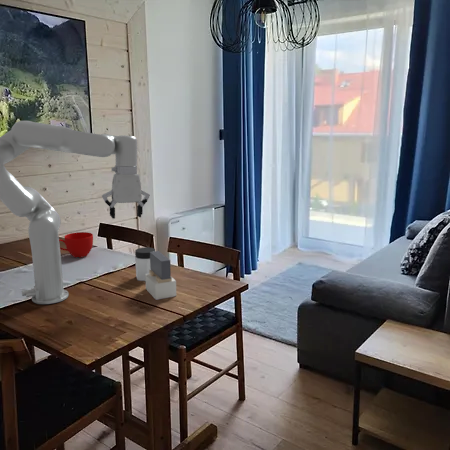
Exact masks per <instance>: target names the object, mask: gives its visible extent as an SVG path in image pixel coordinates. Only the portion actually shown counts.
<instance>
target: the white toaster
mask: <svg viewBox="0 0 450 450" xmlns="http://www.w3.org/2000/svg"><path fill="white" fill-rule="evenodd" d="M145 280H146V281H145V290H147V292H148V293H149V294H150V295H151V296H152V297H153V299H155V301H156V300H157V301H158V300H162V299H169V298H172V297H177V280H176V279H175V278H174V277H173V276H171V278H170V279H164V280H161V279H160V278H159V277H158V276H157V275H156V274H155V273H154V272H153V271H152V270H149V274H145Z"/></svg>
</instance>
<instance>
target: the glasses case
mask: <svg viewBox="0 0 450 450" xmlns="http://www.w3.org/2000/svg"><path fill="white" fill-rule="evenodd" d="M150 268H151V270H152V271H153V272H154V273H155V274H156V275H157V276H158V277H159V278H160V279H161V280H164V279H170V278H171V277H172V276H171V273H172V272H171V259H170V258H168V257H167V256H166V255H164V254H163V253H162V252H161V251H160V250H155V251H154V252H150Z"/></svg>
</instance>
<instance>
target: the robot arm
mask: <svg viewBox="0 0 450 450" xmlns="http://www.w3.org/2000/svg"><path fill="white" fill-rule="evenodd" d="M31 148H35V149H42V150H50V151H54V152H55V151H56V152H63V153H69V154H70V153H71V154H77V155H82V156H83V155H84V156H90V157H91V156H92V157H98V158H107V157H110V156H111V155H115V165H114V166H112V167H111V172H114V174H113V177H112V181H111V182H112V183H111V190H109V191H107V192H105V193H103V194H102V195H101V197H102V199H103V201H104V203H105V204H106V205H107V206H108V207H109V216H110V217H111V219H112V220H114V219H116V208H115V206H116V205H117V204H124V203H125V204H129V203H130V204H131V203H137V205H136V216H137V217H138V218H142V216H143V214H144V213H143V207H144V206H145V204H146V203H147V202H148V200H149V199H150V194H149V193H148V192H145V191H144V190H142V185H141V184H142V183H141V177H140V174H138V139H137V137H136V136H134V135H112V134H106V133H102V134H101V133H94V132H93V133H92V132H85V131H79V130H75V129H72V128H69V127H67V126H63V125H56V124H48V123H42V122H36V121H35V122H34V121H32V120H18V121H16V122H15V123H14V124H13V125H12V127H11V129H10V130H9V131H7V132H6V133H4V134H3V135H1V136H0V201H1V202H2V204H4V205H5V207H6V208H7V209H8V210H9V211H10V212H11V213H12V214H13V215H15V216H16V217H19V218H26V219H27V220H29V223H28V228H27V229H28V231H27V232H28V233H27V234H28V238H29V244H30V248H31V259H32V269H33V276H34V277H33V278H34V279H33V280H34V286H33V288H30V289H29V290H27V289H26V290H25V289H24V290H22V291H21V296H22V297H25V296H26V297H25V298H31V301H32V302H33V303H34V304H37V305H52V304H56V303H57V304H58V303H61V302H63V301H65V300H67V298H69V291H68V290H67V289H64V280H63V268H62V267H63V266H62V256H61V255H62V254H61V249H60V247H61V246H60V245H61V244H60V241H59V240H60V237H59V236H60V235H59V230H60V227H61V224H62V223H61V222H62V221H61V220H62V219H61V216H60V214H59V213H58V212H57V210H55V209H54V207H53V206H52V204H50V203H49V201H47V200H46V198H45V197H43V195H42V194H41V193H40V192H39V191H38V190H36V188H33V187H32V186H23V184H22V183H20V181H19V180H18V179H17V178H16V177H15V176H14V175H13V174H12V173H11V172H10V171H9V170H7V168H6V166H5V164H7V163H10V162H12V161H13V160H15V159H16V158H17V157H19V156H20V155H22V154H24V153H25V152H26V151H27V150H29V149H31ZM110 196H111V200H110V201H109V199H108V197H110ZM142 196H144V197H143V198H142Z"/></svg>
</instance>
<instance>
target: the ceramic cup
mask: <svg viewBox="0 0 450 450" xmlns="http://www.w3.org/2000/svg"><path fill="white" fill-rule="evenodd" d="M59 242H62V243H64V245H65V247H66V248H64V247H61V246H60V251H61V250H62V251H67V252H68V253H69V254H70V255H71V256H72V257H73V258H77V257H79V258H85V257H87V256H88V255H89V254H90V252H91V250H92V248H93V243H94V234H93V233H91V232H86V231H83V232H82V231H79V232H71V233H67V234H65V235H64V239H61V238H59ZM84 256H85V257H84Z"/></svg>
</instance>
